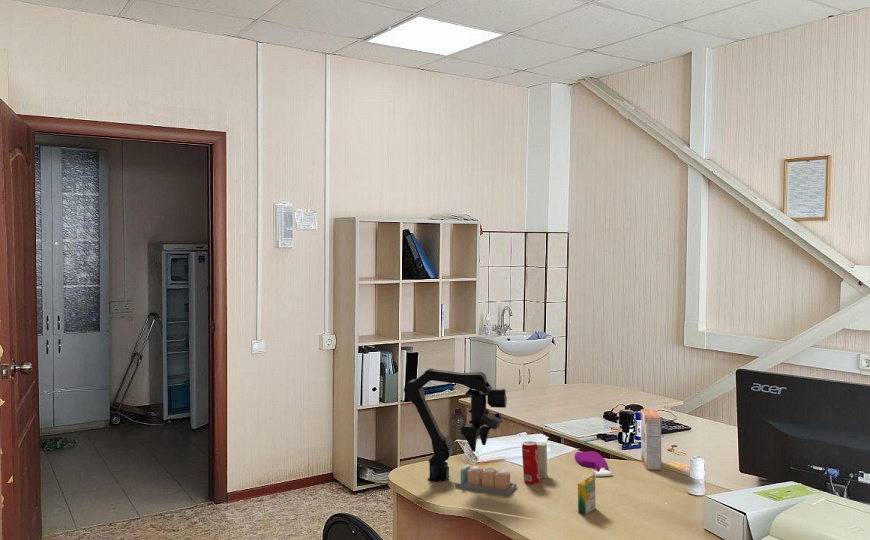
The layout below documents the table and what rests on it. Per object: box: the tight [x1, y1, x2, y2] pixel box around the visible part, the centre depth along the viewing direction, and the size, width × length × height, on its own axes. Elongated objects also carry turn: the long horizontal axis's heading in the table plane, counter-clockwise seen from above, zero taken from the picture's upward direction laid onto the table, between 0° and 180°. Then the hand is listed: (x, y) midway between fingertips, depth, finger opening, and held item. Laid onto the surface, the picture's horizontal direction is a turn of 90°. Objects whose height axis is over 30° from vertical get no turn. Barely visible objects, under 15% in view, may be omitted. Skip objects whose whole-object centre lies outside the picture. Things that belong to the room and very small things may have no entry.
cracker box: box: [640, 408, 662, 471], centre depth 277 cm, size 14×6×21 cm, turn 172°
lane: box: [454, 482, 517, 496], centre depth 251 cm, size 20×9×2 cm, turn 64°
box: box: [535, 441, 548, 479], centre depth 264 cm, size 5×4×13 cm
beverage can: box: [521, 441, 541, 486], centre depth 257 cm, size 6×6×15 cm
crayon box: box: [577, 473, 597, 516], centre depth 230 cm, size 7×3×12 cm, turn 141°
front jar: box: [494, 469, 511, 490], centre depth 248 cm, size 4×4×7 cm
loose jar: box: [468, 465, 484, 486], centre depth 253 cm, size 4×4×7 cm
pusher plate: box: [460, 463, 471, 484], centre depth 255 cm, size 1×6×6 cm, turn 154°
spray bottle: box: [574, 450, 613, 477], centre depth 275 cm, size 3×11×24 cm
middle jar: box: [482, 467, 498, 488], centre depth 250 cm, size 4×4×7 cm
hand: (478, 448), depth 258 cm, fingers open, 9 cm apart
